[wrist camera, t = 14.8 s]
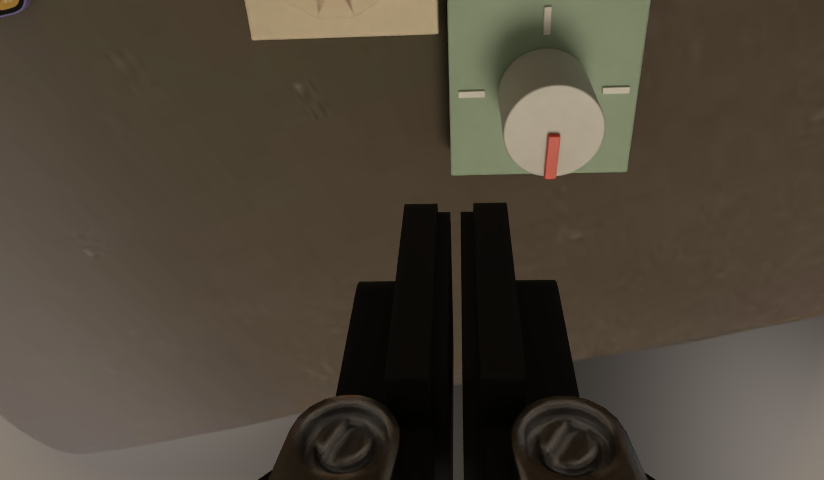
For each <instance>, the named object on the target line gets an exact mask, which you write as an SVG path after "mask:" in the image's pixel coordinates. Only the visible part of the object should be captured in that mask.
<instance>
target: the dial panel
mask: <svg viewBox="0 0 824 480" xmlns="http://www.w3.org/2000/svg"><path fill="white" fill-rule="evenodd" d="M650 1H651V0H447V16H448V61H449V106H450V150H451V175H492V174H532V173H530V172H527V171H525V170H524V169H522V168H520V167H519V166H518V165H517V164H516V163H515V162H514V161H513V160H512V159H511V158H510V156H509V155H508V153H507V151H506V148H505V145H504V141H503V133H502V125H501V117H500V109H499V101H498V88H499V84H500V80H501V78H502V76H503V74H504V72H505V71H506V69H507V68H508V67H509V65H510V64H511V63H512V62H513V61H515V60H516V59H517V58H518V57H520V56H522V55H523V54H525V53H528V52H530V51H533V50H537V49H545V48H550V49H558V50H561V51H564V52H567V53H569V54H570V55H572V56H573V57H575V58H576V59H577V60H578V61H579V62H580V63H581V64H582V66H583V67H584V69H585V71H586V73H587V75H588V78H589V80H590V82H591V85H592V87H593V90H594V92H595V94H596V97H597V99H598V101H599V104H600V106H601V109H602V111H603V114H604V118H605V135H604V139H603V142H602V144H601V146H600V148H599V150H598V151H597V153H596V154H595V155H594V157H593V158H592V159H591V160H590V161H589V162H588V163H586V164H585V165H584V166H582V167H581V168H579V169H577V170H575V171H573V172H571V173H595V172H627V168H628V161H629V154H630V146H631V139H632V132H633V125H634V117H635V110H636V103H637V96H638V88H639V81H640V74H641V67H642V59H643V52H644V45H645V38H646V30H647V23H648V16H649V9H650Z"/></svg>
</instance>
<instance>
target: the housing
mask: <svg viewBox="0 0 824 480" xmlns="http://www.w3.org/2000/svg"><path fill="white" fill-rule="evenodd" d="M245 5H246V10H247V16H248V21H249V27H250V32H251V38H252V40H276V39H306V38H335V37H365V36H394V35H423V34H438V33H439V0H245Z"/></svg>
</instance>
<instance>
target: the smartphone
mask: <svg viewBox="0 0 824 480" xmlns="http://www.w3.org/2000/svg"><path fill="white" fill-rule="evenodd" d="M31 1H32V0H0V18H1V17H5V16H9V15H13V14H16V13H19V12H21V11H22V10H24V9H26V8H27V7H28V6H29V5H30V4H31Z"/></svg>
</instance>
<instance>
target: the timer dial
mask: <svg viewBox="0 0 824 480" xmlns="http://www.w3.org/2000/svg"><path fill="white" fill-rule="evenodd" d="M498 101H499V109H500V117H501V125H502V133H503V141H504V145H505V148H506V151H507V153H508V155H509V156H510V158H511V159H512V160H513V161H514V162H515V163H516V164H517V165H518V166H519V167H520V168H522V169H524V170H525V171H527V172H530V173H532V174H535V175H540V176H544V179H556V176H560V175H565V174H568V173H571V172H573V171H575V170H577V169H579V168H581V167H582V166H584V165H585V164H586V163H588V162H589V161H590V160H591V159H592V158H593V157H594V155H595V154H596V153H597V151H598V150H599V148H600V146H601V144H602V142H603V139H604V135H605V118H604V114H603V111H602V109H601V106H600V104H599V101H598V99H597V97H596V94H595V92H594V90H593V87H592V85H591V82H590V80H589V78H588V75H587V73H586V71H585V69H584V67H583V66H582V64H581V63H580V62H579V61H578V60H577V59H576V58H575V57H573V56H572V55H570V54H569V53H567V52H564V51H561V50H558V49H550V48H545V49H537V50H533V51H530V52H528V53H525V54H523V55H522V56H520V57H518V58H517V59H516V60H515V61H513V62H512V63H511V64H510V65H509V67H508V68H507V69H506V71H505V72H504V74H503V76H502V78H501V80H500V84H499V88H498Z"/></svg>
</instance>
